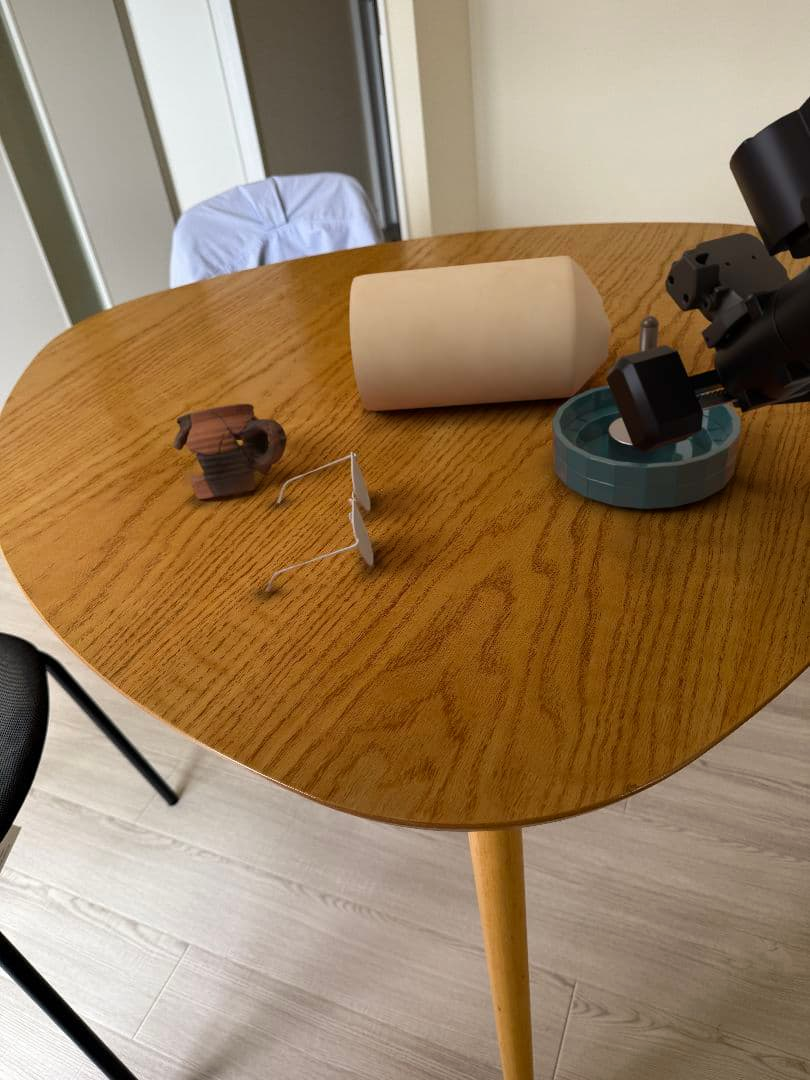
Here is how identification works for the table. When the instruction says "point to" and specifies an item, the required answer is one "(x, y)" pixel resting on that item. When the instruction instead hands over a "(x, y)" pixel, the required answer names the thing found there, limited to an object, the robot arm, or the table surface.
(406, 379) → the candle
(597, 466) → the bowl
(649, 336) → the silver joystick
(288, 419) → the table surface
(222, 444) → the pottery mug
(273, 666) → the table surface
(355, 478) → the sunglasses
